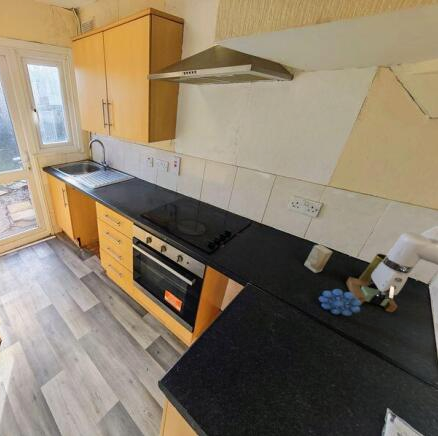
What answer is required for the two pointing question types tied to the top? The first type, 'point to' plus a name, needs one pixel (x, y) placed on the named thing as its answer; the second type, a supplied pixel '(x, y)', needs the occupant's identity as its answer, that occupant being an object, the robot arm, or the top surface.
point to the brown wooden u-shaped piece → (355, 288)
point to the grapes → (340, 302)
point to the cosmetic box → (318, 258)
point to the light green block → (372, 294)
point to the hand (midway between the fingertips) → (371, 297)
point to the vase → (372, 267)
